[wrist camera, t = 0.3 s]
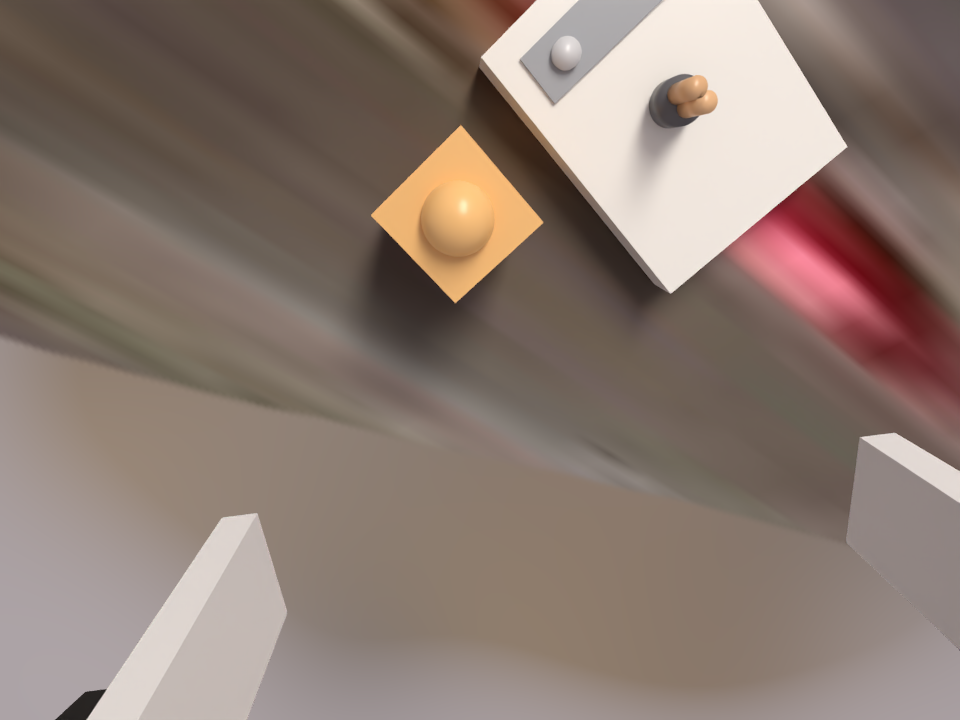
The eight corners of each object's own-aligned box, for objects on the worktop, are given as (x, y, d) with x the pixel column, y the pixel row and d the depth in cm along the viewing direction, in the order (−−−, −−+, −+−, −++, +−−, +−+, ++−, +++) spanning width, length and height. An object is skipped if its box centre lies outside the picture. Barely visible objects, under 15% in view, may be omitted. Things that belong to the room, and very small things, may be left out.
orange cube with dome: (390, 203, 35) (364, 218, 24) (458, 136, 34) (461, 121, 23) (454, 271, 36) (455, 312, 26) (521, 209, 35) (550, 226, 25)
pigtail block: (478, 66, 32) (485, 41, 26) (651, -110, 30) (708, -189, 23) (654, 284, 37) (697, 309, 31) (815, 148, 35) (899, 143, 28)
